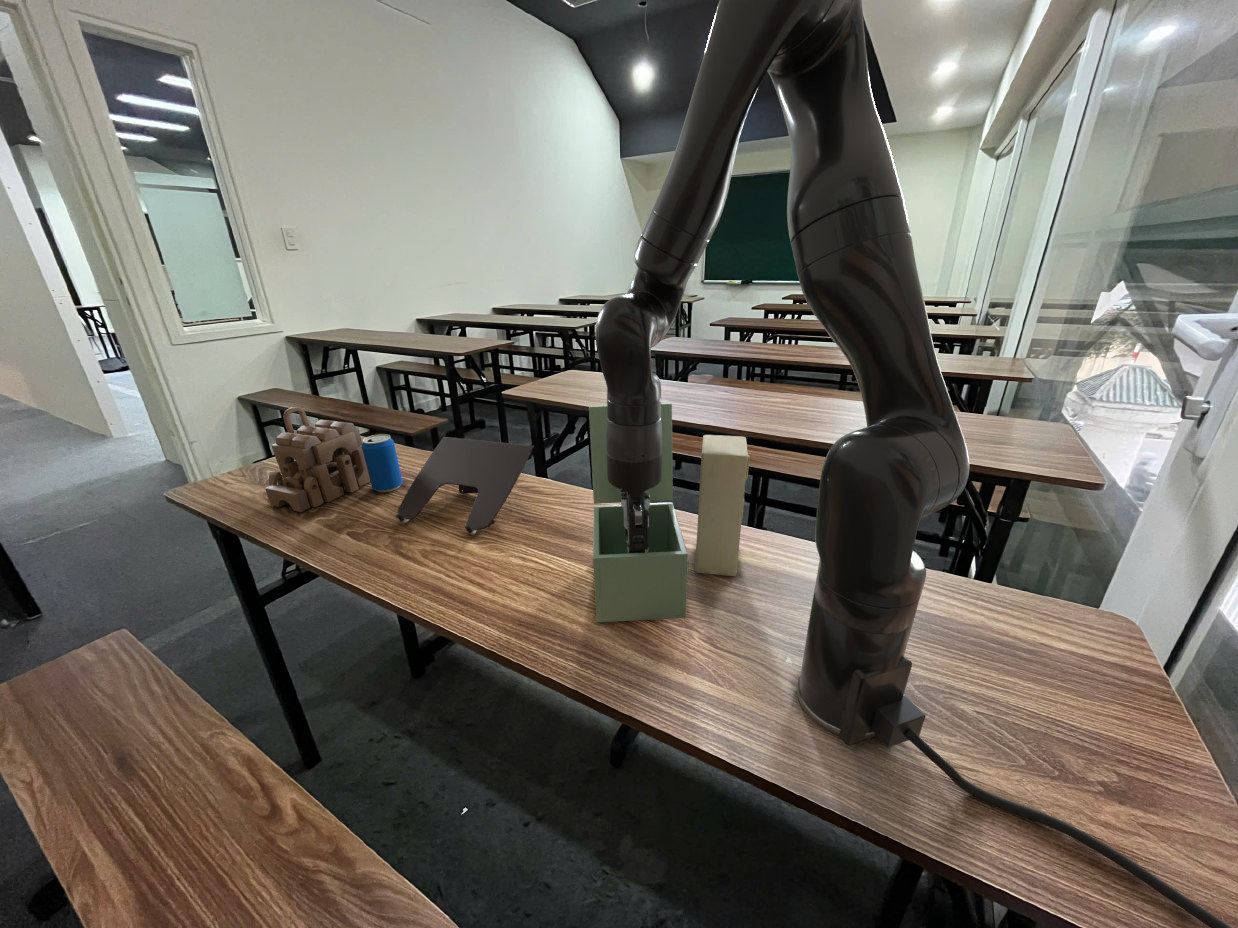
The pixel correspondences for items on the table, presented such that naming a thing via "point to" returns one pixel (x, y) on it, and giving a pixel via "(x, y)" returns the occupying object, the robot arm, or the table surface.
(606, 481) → the lid
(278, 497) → the wooden puzzle
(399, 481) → the beverage can
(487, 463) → the laptop tray
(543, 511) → the table surface
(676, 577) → the chest
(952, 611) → the table surface
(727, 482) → the toy refrigerator
